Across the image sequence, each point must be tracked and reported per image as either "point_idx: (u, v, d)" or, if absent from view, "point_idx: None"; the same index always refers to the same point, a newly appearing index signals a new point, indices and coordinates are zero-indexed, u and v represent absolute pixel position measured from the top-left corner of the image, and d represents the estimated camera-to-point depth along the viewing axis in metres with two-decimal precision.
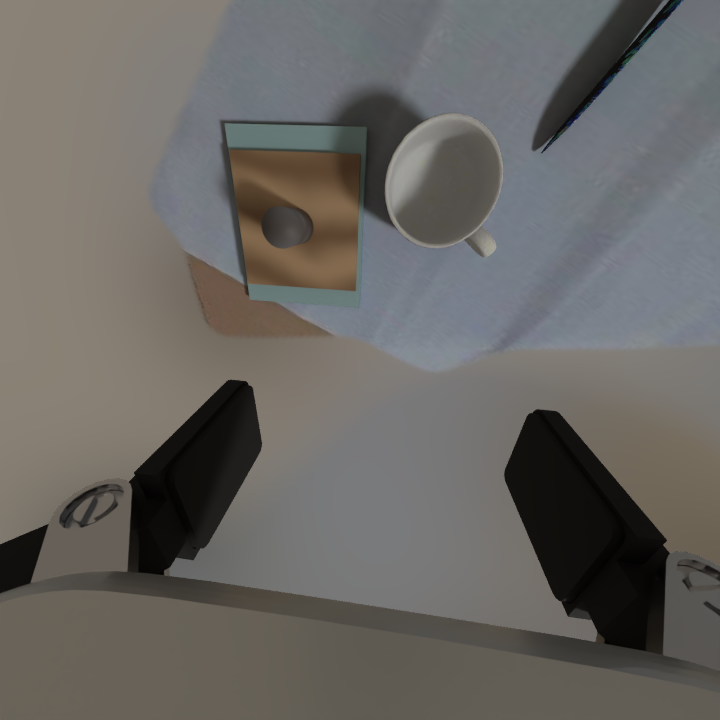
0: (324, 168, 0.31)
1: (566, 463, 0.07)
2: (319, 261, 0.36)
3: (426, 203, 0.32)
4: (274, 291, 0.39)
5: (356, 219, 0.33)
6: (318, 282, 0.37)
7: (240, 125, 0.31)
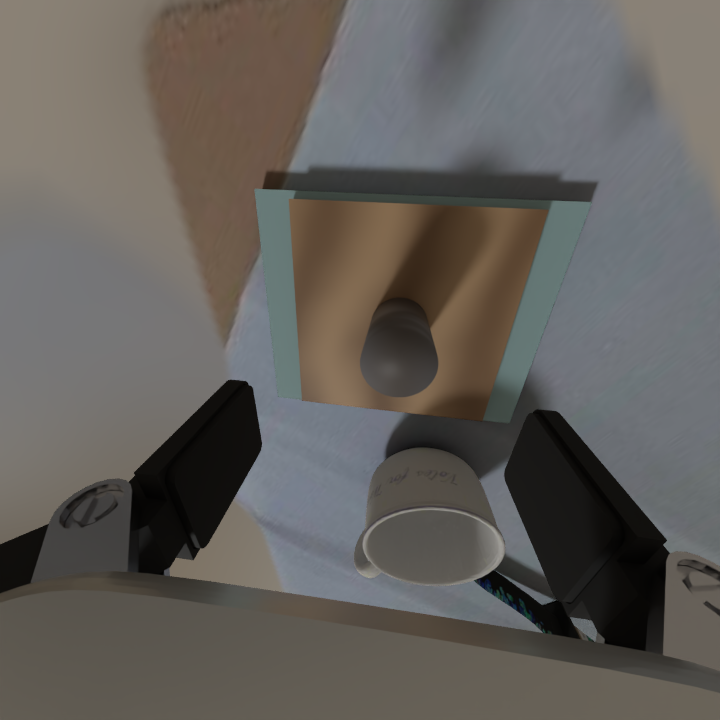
0: (475, 376, 0.20)
1: (566, 463, 0.07)
2: (343, 354, 0.21)
3: None
4: (281, 254, 0.19)
5: (402, 410, 0.23)
6: (308, 348, 0.21)
7: (576, 237, 0.16)
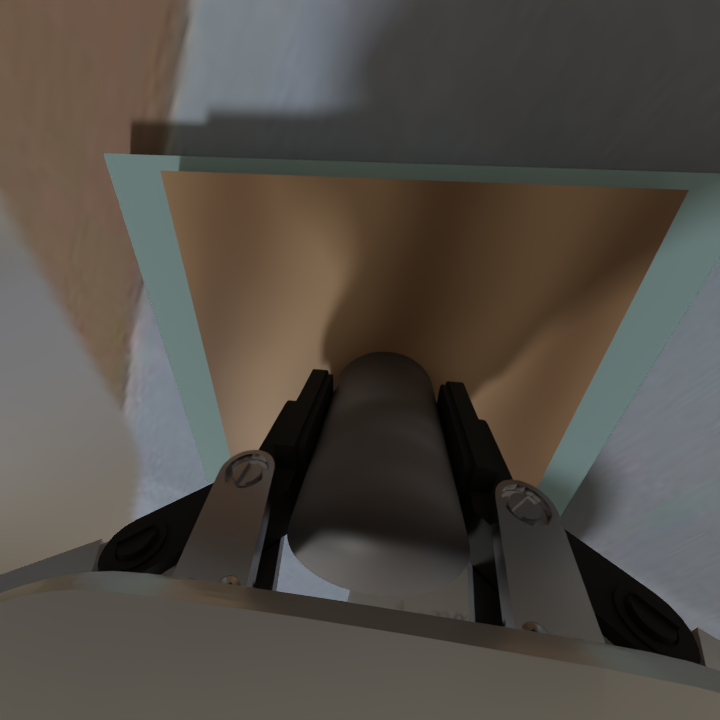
0: (510, 470, 0.13)
1: (452, 420, 0.08)
2: None
3: None
4: (175, 275, 0.11)
5: None
6: (238, 424, 0.13)
7: None
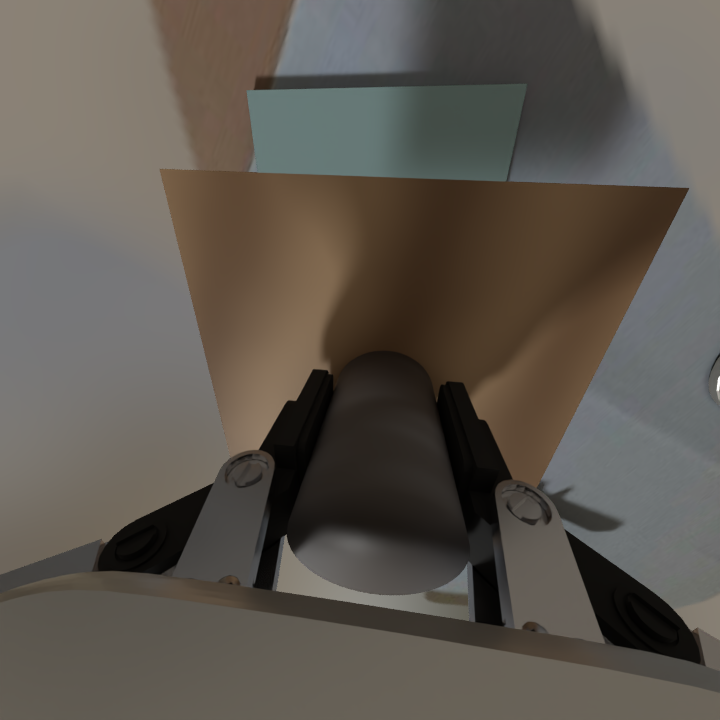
0: (510, 469, 0.12)
1: (452, 420, 0.08)
2: None
3: None
4: (272, 153, 0.22)
5: None
6: (238, 423, 0.13)
7: (517, 118, 0.20)
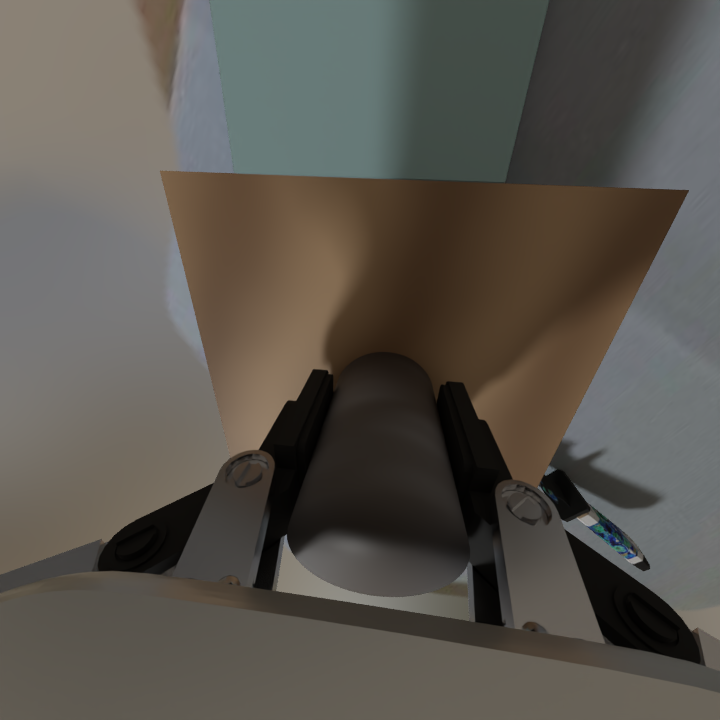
0: (510, 471, 0.13)
1: (452, 420, 0.08)
2: None
3: None
4: None
5: None
6: (238, 424, 0.13)
7: None
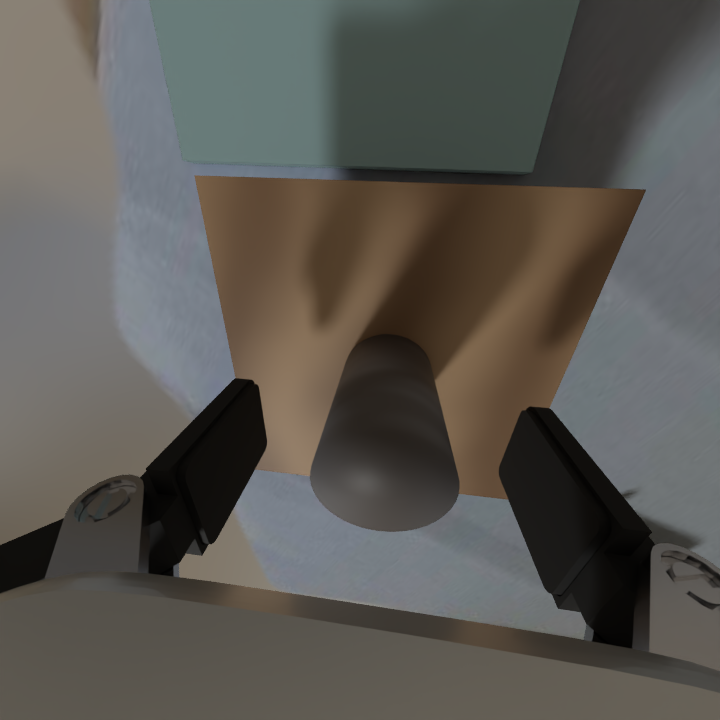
0: (501, 444, 0.14)
1: (556, 458, 0.07)
2: (306, 411, 0.14)
3: None
4: None
5: None
6: None
7: None
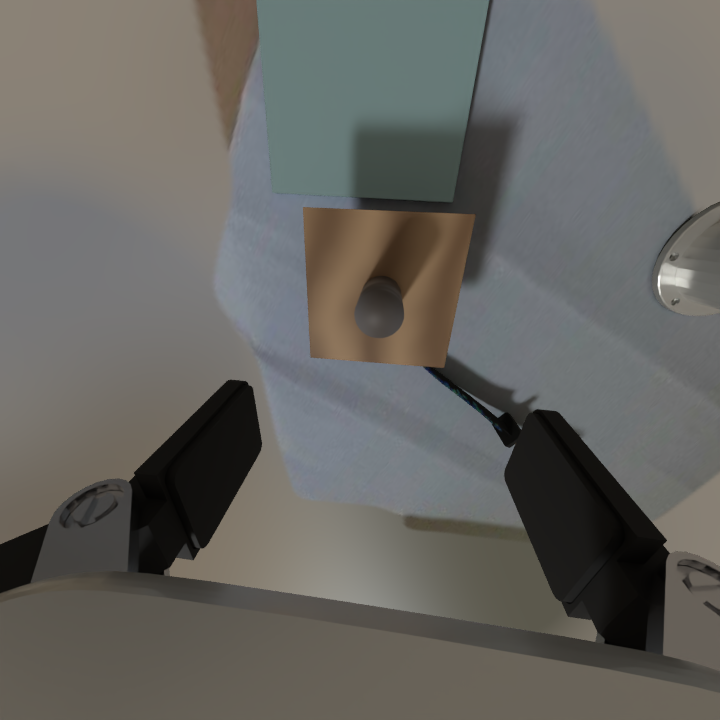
0: (436, 332, 0.29)
1: (566, 463, 0.07)
2: (341, 319, 0.29)
3: None
4: (275, 38, 0.25)
5: (386, 362, 0.31)
6: (316, 315, 0.29)
7: (485, 8, 0.23)
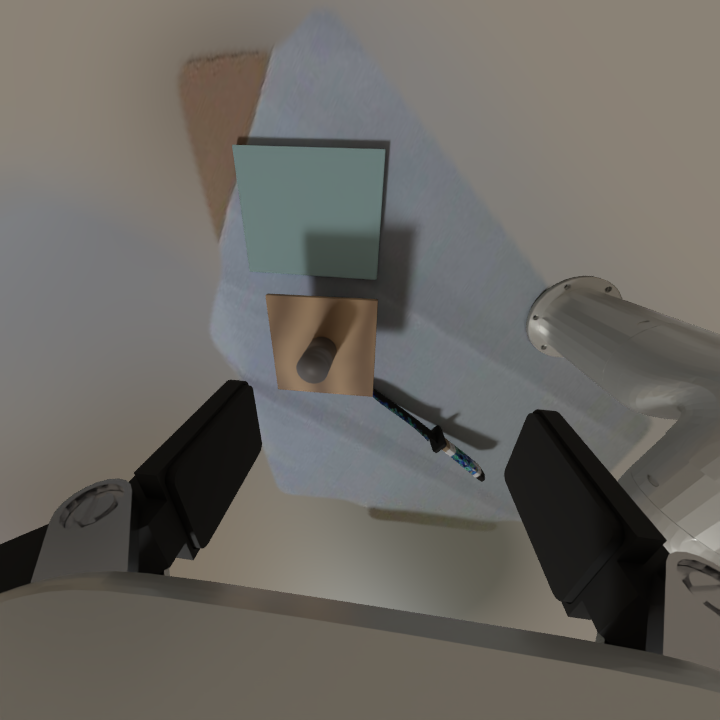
0: (363, 373, 0.41)
1: (566, 463, 0.07)
2: (297, 363, 0.41)
3: None
4: (247, 180, 0.38)
5: (331, 392, 0.43)
6: (279, 361, 0.41)
7: (382, 167, 0.35)
